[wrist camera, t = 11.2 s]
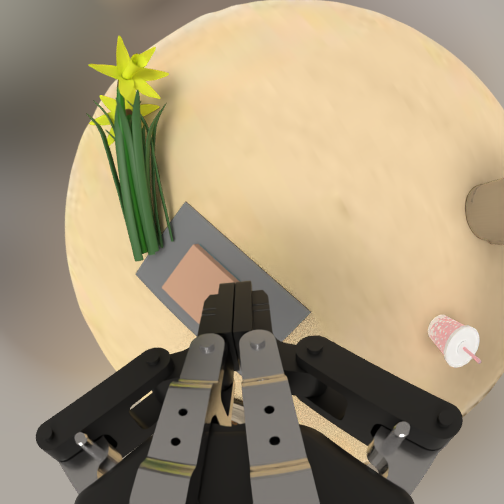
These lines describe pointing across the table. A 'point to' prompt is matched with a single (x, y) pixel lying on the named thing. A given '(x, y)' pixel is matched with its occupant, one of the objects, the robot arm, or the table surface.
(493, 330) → the table surface
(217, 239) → the felt mat
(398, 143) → the table surface
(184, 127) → the table surface
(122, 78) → the daffodil flowers
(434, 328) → the beverage cup
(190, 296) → the tile
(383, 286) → the table surface
